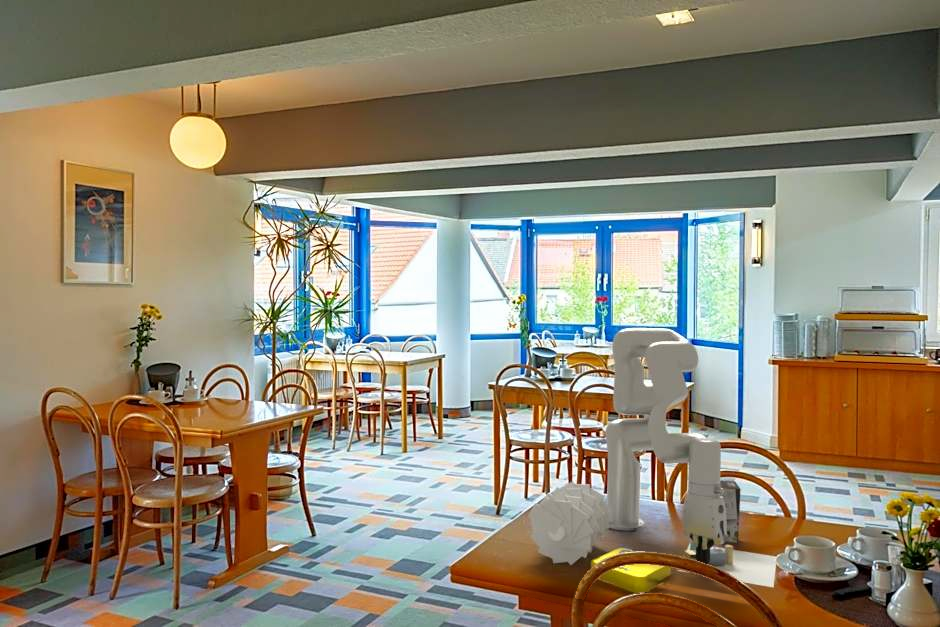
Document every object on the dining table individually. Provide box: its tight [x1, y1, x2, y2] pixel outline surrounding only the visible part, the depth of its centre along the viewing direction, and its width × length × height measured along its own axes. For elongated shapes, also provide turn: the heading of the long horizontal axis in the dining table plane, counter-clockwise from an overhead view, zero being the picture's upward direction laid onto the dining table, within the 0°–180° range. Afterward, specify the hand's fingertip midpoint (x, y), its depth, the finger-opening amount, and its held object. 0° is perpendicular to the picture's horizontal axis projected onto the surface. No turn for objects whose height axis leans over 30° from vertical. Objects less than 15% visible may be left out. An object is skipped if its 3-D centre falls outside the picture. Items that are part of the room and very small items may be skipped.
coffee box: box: [720, 480, 742, 543], centre depth 208 cm, size 9×6×16 cm
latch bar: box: [683, 549, 727, 565], centre depth 186 cm, size 10×3×3 cm, turn 101°
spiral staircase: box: [527, 480, 611, 566], centre depth 195 cm, size 18×18×25 cm
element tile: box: [590, 547, 672, 594], centre depth 179 cm, size 15×15×5 cm
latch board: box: [676, 538, 777, 589], centre depth 187 cm, size 22×23×6 cm
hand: (702, 563), depth 182 cm, fingers closed
